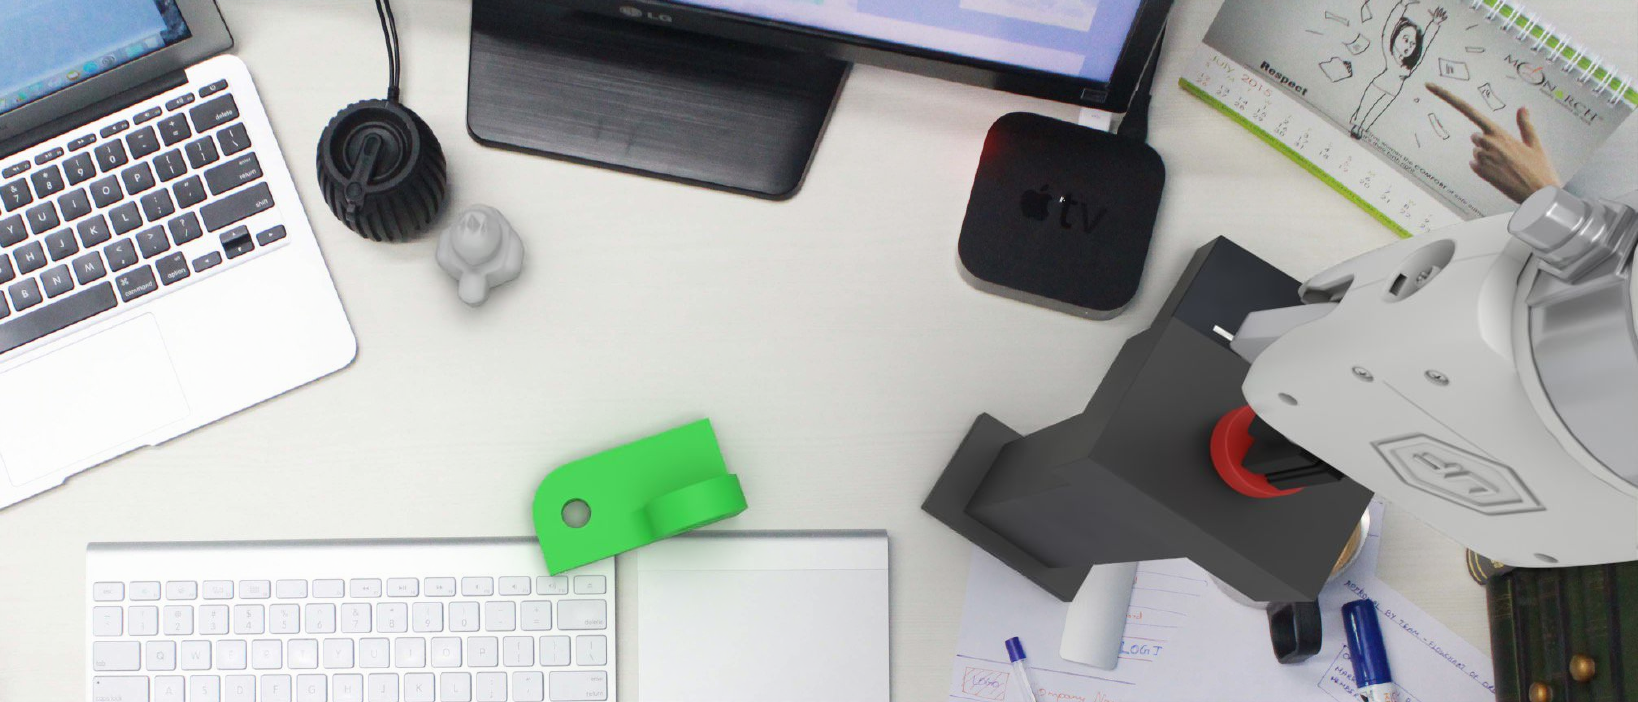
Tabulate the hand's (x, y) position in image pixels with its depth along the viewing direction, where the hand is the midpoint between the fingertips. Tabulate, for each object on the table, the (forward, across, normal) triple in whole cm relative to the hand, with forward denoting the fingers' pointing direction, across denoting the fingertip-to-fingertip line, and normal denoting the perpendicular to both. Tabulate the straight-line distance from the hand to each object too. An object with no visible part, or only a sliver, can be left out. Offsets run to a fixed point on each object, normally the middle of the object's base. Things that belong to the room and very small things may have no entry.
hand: (1277, 444), depth 45 cm
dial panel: (+29, +8, +15) cm, 33 cm away
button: (+3, 0, 0) cm, 3 cm away
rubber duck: (+29, -36, -6) cm, 47 cm away
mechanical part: (+29, -20, -13) cm, 37 cm away
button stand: (+29, 0, 0) cm, 29 cm away
